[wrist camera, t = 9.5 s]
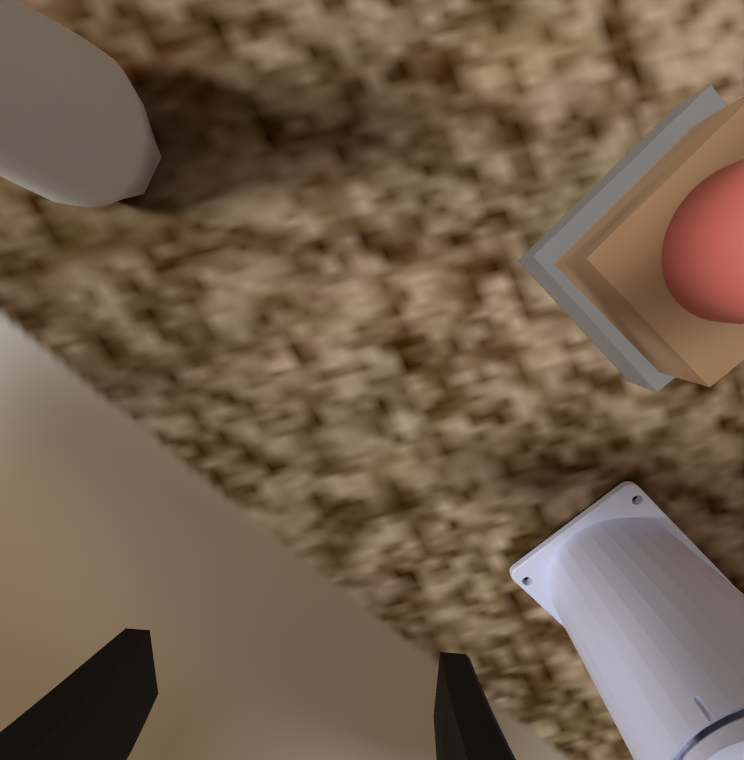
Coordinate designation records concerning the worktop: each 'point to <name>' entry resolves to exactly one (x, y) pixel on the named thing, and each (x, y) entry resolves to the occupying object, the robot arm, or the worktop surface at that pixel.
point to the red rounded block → (709, 248)
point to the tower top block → (660, 258)
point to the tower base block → (589, 213)
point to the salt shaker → (68, 115)
